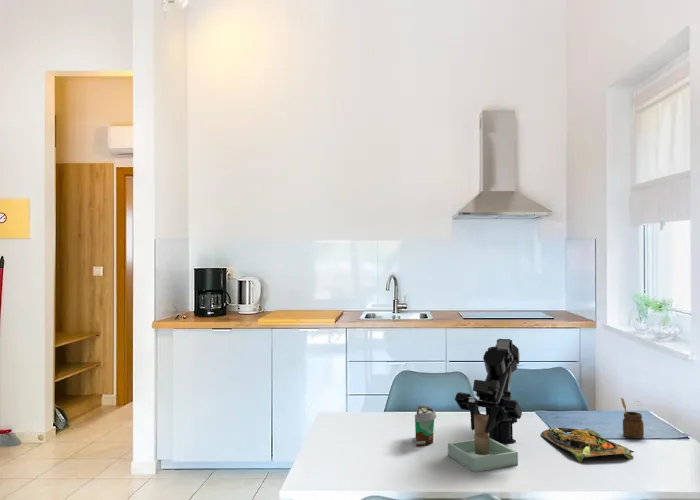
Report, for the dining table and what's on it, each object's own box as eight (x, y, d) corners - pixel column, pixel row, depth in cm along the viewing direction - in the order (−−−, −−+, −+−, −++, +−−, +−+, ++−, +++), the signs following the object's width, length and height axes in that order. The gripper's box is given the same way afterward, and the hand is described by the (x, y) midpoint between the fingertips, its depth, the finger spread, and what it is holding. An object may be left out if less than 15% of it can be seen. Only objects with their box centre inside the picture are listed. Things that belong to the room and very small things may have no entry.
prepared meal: (535, 423, 181) (587, 419, 183) (535, 433, 181) (588, 430, 183) (577, 455, 153) (639, 451, 155) (577, 468, 153) (639, 464, 155)
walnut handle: (483, 449, 160) (483, 413, 160) (492, 454, 156) (491, 416, 156) (472, 451, 158) (471, 414, 159) (479, 456, 155) (479, 418, 155)
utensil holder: (647, 438, 173) (646, 400, 173) (627, 438, 173) (626, 400, 174) (638, 432, 179) (637, 395, 179) (618, 433, 179) (617, 395, 179)
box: (488, 449, 166) (488, 437, 166) (518, 464, 153) (517, 452, 153) (447, 455, 161) (447, 443, 161) (474, 472, 148) (474, 459, 148)
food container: (435, 449, 167) (435, 415, 167) (415, 448, 168) (414, 415, 168) (437, 436, 179) (437, 405, 179) (418, 435, 180) (418, 404, 180)
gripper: (456, 365, 166) (439, 410, 158) (517, 372, 155) (502, 421, 146) (469, 386, 173) (453, 430, 164) (528, 394, 161) (514, 442, 152)
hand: (479, 431), depth 156 cm, fingers closed on walnut handle, 4 cm apart
